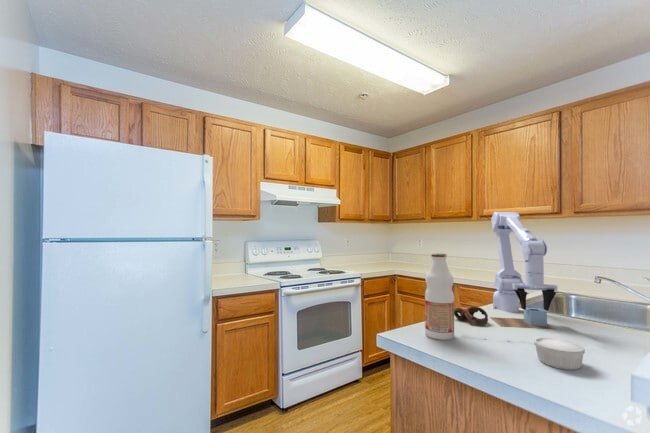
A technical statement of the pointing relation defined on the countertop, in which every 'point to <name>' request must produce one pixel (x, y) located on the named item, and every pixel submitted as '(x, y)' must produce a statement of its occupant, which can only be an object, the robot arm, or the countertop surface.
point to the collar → (535, 317)
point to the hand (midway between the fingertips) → (534, 309)
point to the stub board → (516, 323)
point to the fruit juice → (439, 300)
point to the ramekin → (559, 353)
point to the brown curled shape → (471, 315)
